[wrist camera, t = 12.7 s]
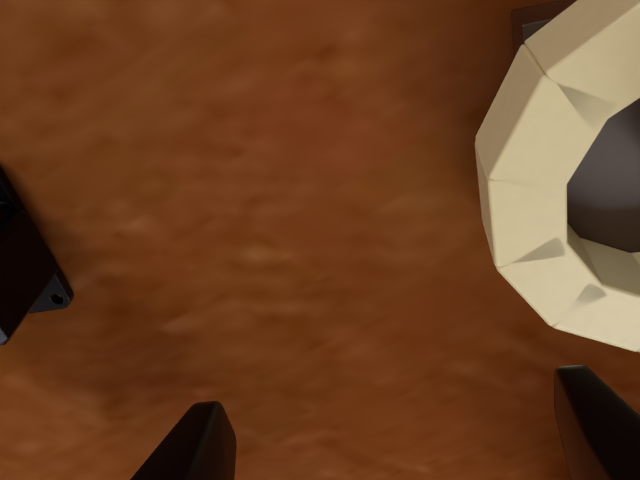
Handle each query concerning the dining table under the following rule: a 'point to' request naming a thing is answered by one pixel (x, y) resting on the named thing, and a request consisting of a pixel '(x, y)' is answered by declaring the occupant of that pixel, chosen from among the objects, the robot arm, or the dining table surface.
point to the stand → (598, 160)
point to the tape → (561, 169)
